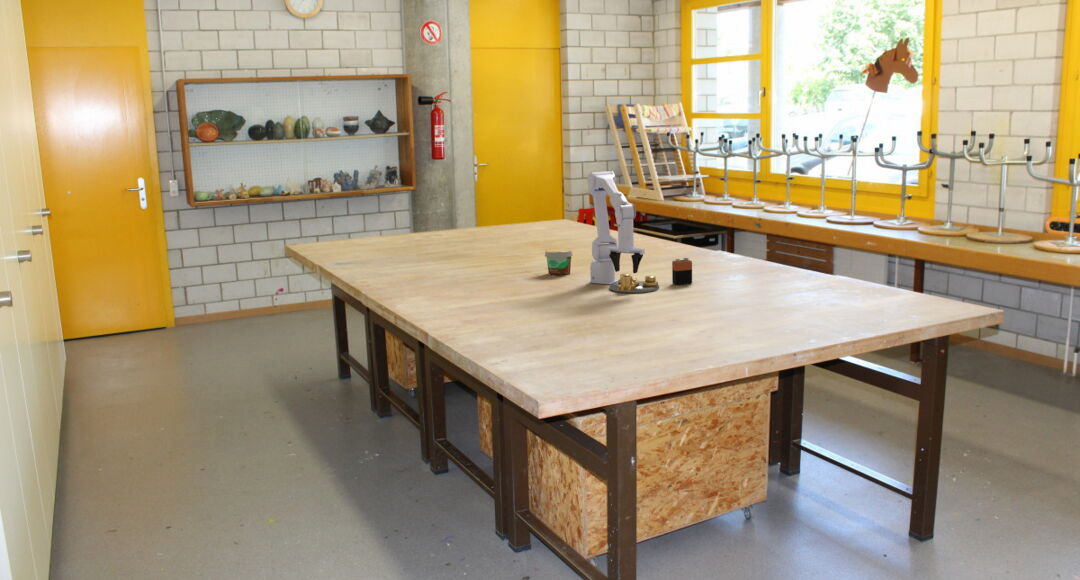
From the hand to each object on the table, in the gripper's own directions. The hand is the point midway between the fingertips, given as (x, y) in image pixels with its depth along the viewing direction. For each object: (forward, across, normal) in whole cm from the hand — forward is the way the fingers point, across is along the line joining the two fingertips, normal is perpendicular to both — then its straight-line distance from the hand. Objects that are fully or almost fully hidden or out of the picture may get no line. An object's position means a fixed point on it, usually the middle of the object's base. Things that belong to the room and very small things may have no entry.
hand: (626, 272), depth 338 cm
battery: (+8, +13, +22) cm, 26 cm away
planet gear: (+6, 0, 0) cm, 6 cm away
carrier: (+8, 0, +6) cm, 10 cm away
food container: (+8, -43, +19) cm, 47 cm away
